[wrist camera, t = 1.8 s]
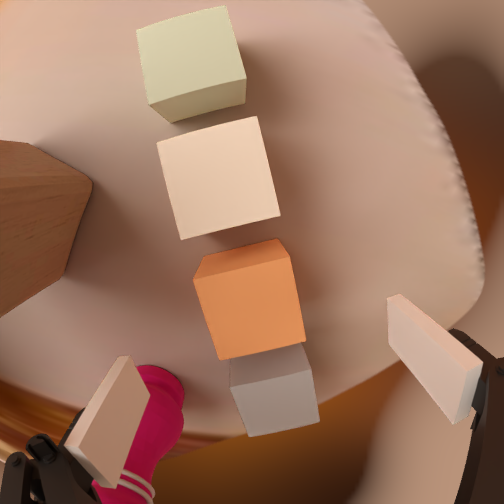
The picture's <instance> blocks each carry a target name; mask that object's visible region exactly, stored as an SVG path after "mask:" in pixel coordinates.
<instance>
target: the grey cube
mask: <svg viewBox="0 0 504 504" xmlns="http://www.w3.org/2000/svg"><path fill="white" fill-rule="evenodd" d="M229 388H230V390H231V393H232V395H233V398H234V401H235V403H236V406H237V408H238V411H239V414H240V416H241V419H242V421H243V424H244V426H245V428H246V431H247V433H248V436H249V437H253V436H259V435H264V434H269V433H275V432H279V431H284V430H289V429H293V428H297V427H301V426H306V425H310V424H313V423H317V422H320V420H319V413H318V406H317V400H316V394H315V388H314V382H313V376H312V370H311V367H310V364H309V361H308V359H307V356H306V353H305V351H304V348H303V345H302V343H301V342H300V343H297V344H293V345H289V346H285V347H280V348H276V349H272V350H268V351H263V352H259V353H254V354H250V355H245V356H240V357H235V358H231V359H230V383H229Z"/></svg>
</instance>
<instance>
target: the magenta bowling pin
mask: <svg viewBox="0 0 504 504" xmlns="http://www.w3.org/2000/svg"><path fill="white" fill-rule="evenodd" d="M136 368H137V370H138V372H139V374H140V376H141V378H142V380H143V382H144V384H145V386H146V388H147V390H148V392H149V394H150V398H149V400H148V403H147V405H146V408H145V410H144V413H143V416H142V418H141V421H140V423H139V426H138V429H137V431H136V434H135V437H134V439H133V442H132V445H131V448H130V450H129V453H128V456H127V459H126V461H125V464H124V467H123V470H122V473H121V475H120V478H119V481H118V484H117V487H116V489H114V488H107V487H101V486H100V485H99V484H98V483H97V482H96V481H95V480H94V479H93V482H92V485H93V487H94V488H95V489H96V491H97V493H98V495H99V498H100V500H101V502H102V504H153V501H152V499H153V498H154V496H155V491H154V489H153V488H152V486H151V478H152V475H153V472H154V469H155V466H156V464H157V463H158V461H159V460H160V459H161V458H162V457H163V456H164V455H165V454H166V453H167V452H168V451H169V450H170V449H171V448H172V447H173V446H174V445H175V444H176V442H177V441H178V439H179V437H180V435H181V432H182V429H183V425H184V418H183V414H182V411H181V409H182V405H183V401H184V389H183V387H182V385H181V383H180V382H179V381H178V380H177V378H176V377H175V376H173V375H172V374H171V373H170V372H168V371H166V370H164V369H162V368H159V367H155V366H147V365H143V366H138V367H136Z"/></svg>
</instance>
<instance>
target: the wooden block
mask: <svg viewBox="0 0 504 504" xmlns="http://www.w3.org/2000/svg"><path fill="white" fill-rule="evenodd" d="M92 187H93V183H92V181H91V180H90V179H89V178H88V177H87V176H86V175H85V174H83V173H81V172H79V171H77V170H76V169H74V168H72V167H70V166H68V165H66V164H65V163H63V162H61V161H59V160H57V159H55V158H54V157H52V156H50V155H48V154H46V153H45V152H43V151H41V150H39V149H37V148H36V147H34V146H32V145H30V144H28V143H22V142H13V141H3V140H0V318H1V317H2V316H3V315H5V314H6V313H8V312H9V311H11V310H12V309H14V308H15V307H17V306H18V305H20V304H21V303H23V302H24V301H26V300H27V299H29V298H30V297H32V296H34V295H35V294H37V293H38V292H40V291H41V290H43V289H45V288H46V287H48V286H49V285H51V284H53V283H54V282H56V281H57V280H59V279H60V278H61V276H62V275H63V273H64V271H65V267H66V264H67V260H68V257H69V254H70V250H71V247H72V244H73V241H74V238H75V235H76V232H77V229H78V226H79V223H80V220H81V218H82V215H83V212H84V209H85V207H86V204H87V202H88V199H89V196H90V194H91V191H92Z"/></svg>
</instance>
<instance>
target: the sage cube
mask: <svg viewBox="0 0 504 504" xmlns="http://www.w3.org/2000/svg"><path fill="white" fill-rule="evenodd" d="M136 34H137V41H138V47H139V54H140V60H141V66H142V72H143V78H144V84H145V89H146V94H147V100H148V105H149V106H150V107H152V108H153V109H154V110H155V111H157V112H158V113H159V114H160V115H161V116H163V117H164V118H165V119H166V120H167V121H169V122H170V123H172V122H175V121H179V120H182V119H186V118H189V117H193V116H196V115H200V114H203V113H207V112H211V111H215V110H219V109H223V108H227V107H232V106H236V105H241V104H245V97H246V82H247V77H246V74H245V70H244V66H243V63H242V59H241V56H240V52H239V49H238V45H237V42H236V38H235V35H234V31H233V28H232V25H231V21H230V18H229V15H228V11H227V8H226V5H223V6H218V7H213V8H208V9H204V10H200V11H196V12H192V13H188V14H184V15H181V16H177V17H174V18H170V19H167V20H164V21H161V22H157V23H154V24H151V25H149V26H146V27H143V28H140V29H137V30H136Z"/></svg>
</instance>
